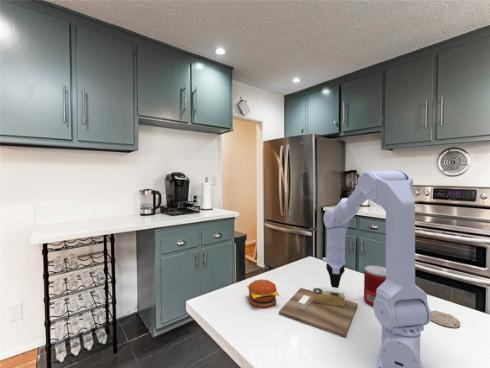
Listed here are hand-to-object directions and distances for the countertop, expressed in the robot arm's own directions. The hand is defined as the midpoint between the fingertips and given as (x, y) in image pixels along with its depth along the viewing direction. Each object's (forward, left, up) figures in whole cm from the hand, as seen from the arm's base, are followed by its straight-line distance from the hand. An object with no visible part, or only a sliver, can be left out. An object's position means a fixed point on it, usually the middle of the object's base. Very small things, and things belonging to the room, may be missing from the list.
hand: (334, 286), depth 83 cm
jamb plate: (-9, +2, -5) cm, 10 cm away
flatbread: (+6, -29, -5) cm, 30 cm away
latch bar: (-5, +1, -3) cm, 6 cm away
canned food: (+6, -12, -5) cm, 14 cm away
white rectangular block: (-11, +7, -3) cm, 13 cm away
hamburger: (-14, +20, -5) cm, 25 cm away
